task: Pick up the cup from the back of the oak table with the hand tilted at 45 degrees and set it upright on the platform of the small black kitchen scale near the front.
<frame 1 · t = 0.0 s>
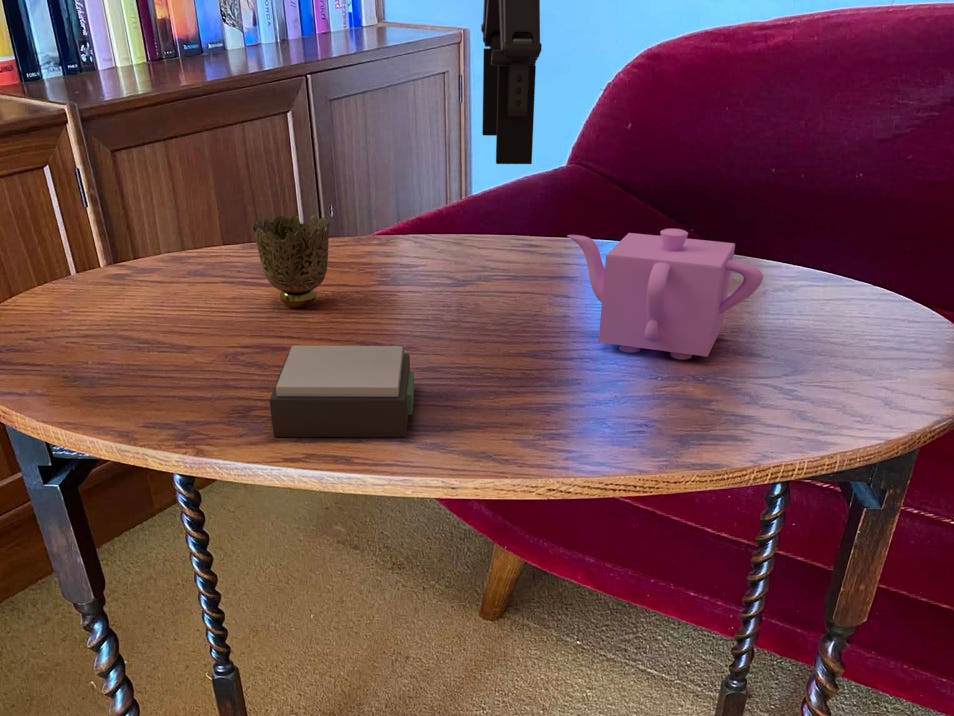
hand: (505, 148, 79), 17 cm above the table, tool pointing down, fingers open, 13 cm apart
teapot: (653, 343, 91), on the table
cup: (298, 306, 99), on the table
scale: (345, 411, 77), on the table
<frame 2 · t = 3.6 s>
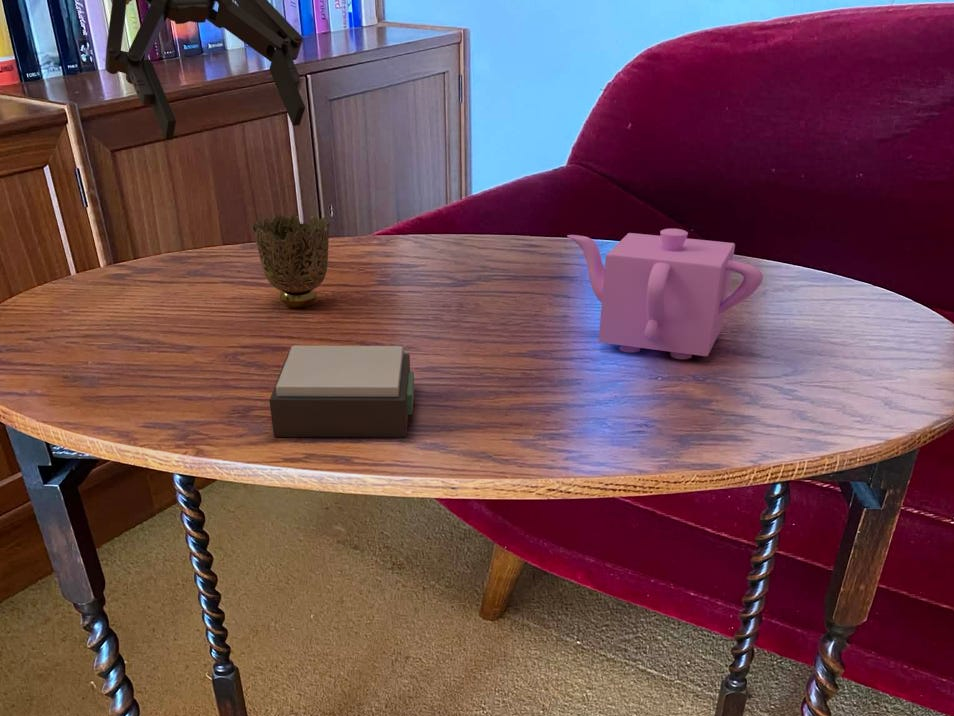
hand: (237, 124, 96), 15 cm above the table, tool tilted 45°, fingers open, 13 cm apart
nothing on the table moved.
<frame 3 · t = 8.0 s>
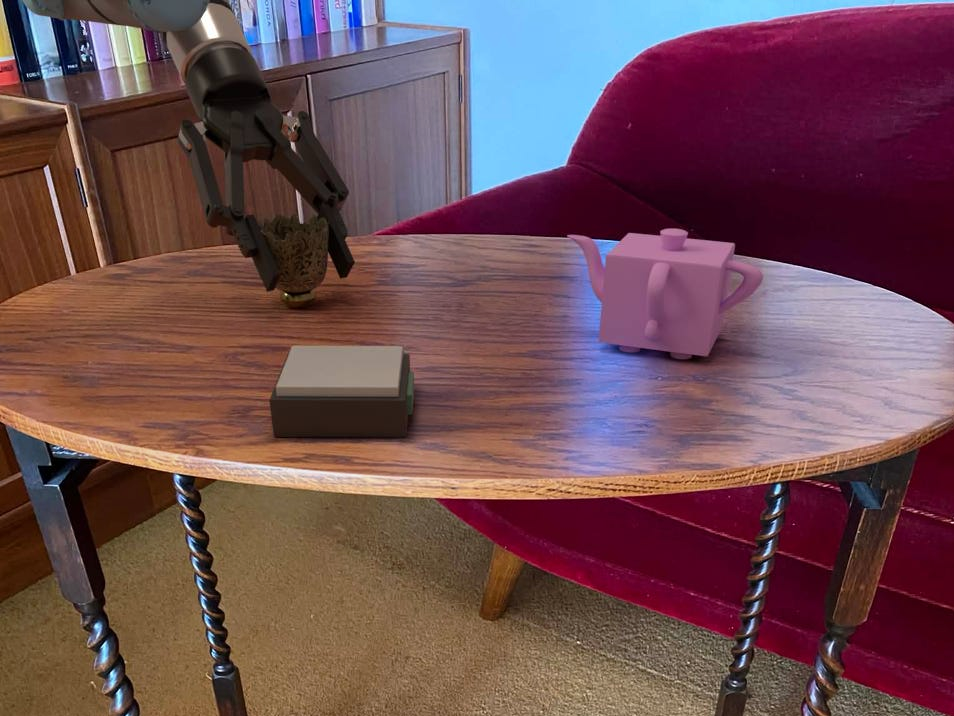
hand: (311, 276, 95), 4 cm above the table, tool tilted 45°, fingers closed on cup, 7 cm apart
cup: (298, 306, 99), on the table, touching gripper
everything else where it was.
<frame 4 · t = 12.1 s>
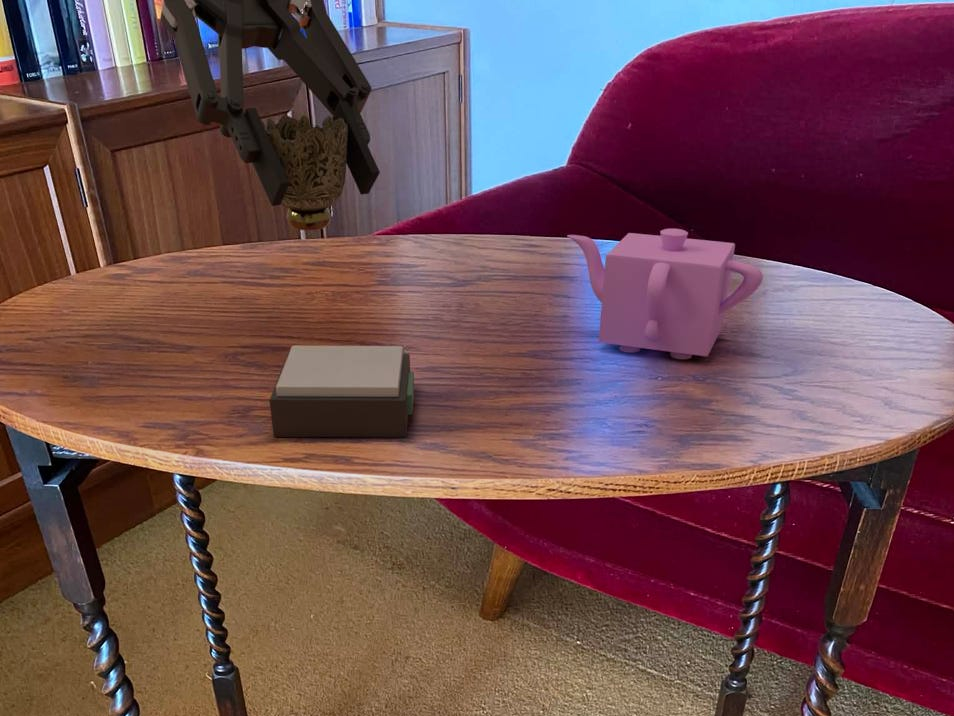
hand: (326, 188, 77), 14 cm above the table, tool tilted 45°, fingers closed on cup, 7 cm apart
cup: (309, 229, 81), point 11 cm above the table, touching gripper
everything else where it was.
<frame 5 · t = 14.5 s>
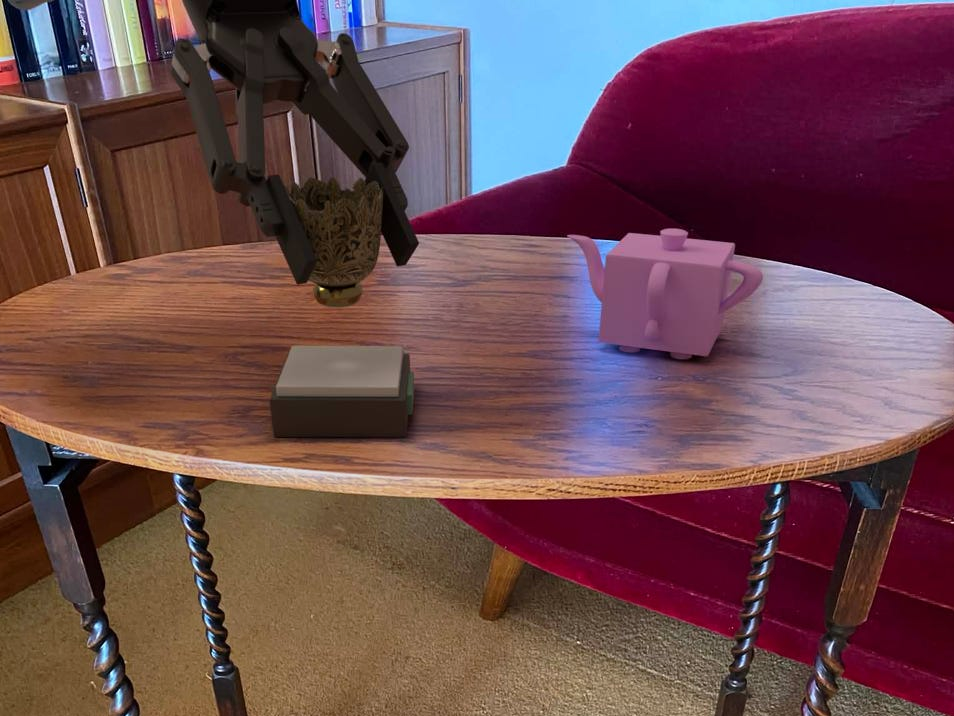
hand: (359, 263, 67), 12 cm above the table, tool tilted 45°, fingers closed on cup, 7 cm apart
cup: (338, 305, 72), point 8 cm above the table, touching gripper
everything else where it was.
when the fingers open (7 cm above the table, at t = 16.2 s): cup stays where it is, resting on scale.
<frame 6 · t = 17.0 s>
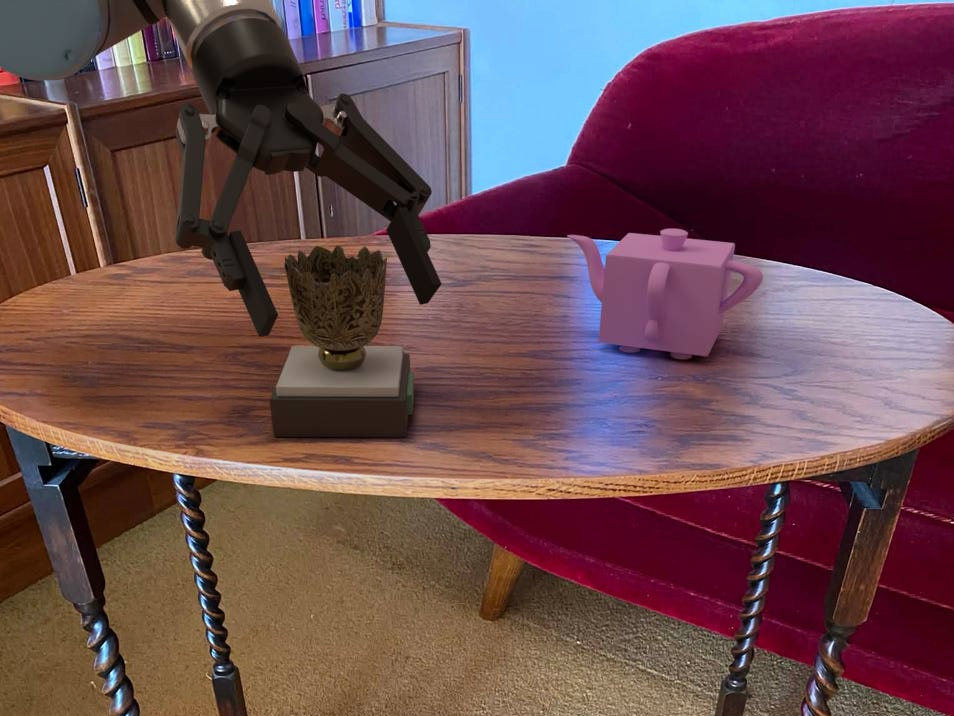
hand: (353, 310, 70), 9 cm above the table, tool tilted 45°, fingers open, 13 cm apart
cup: (342, 367, 75), point 4 cm above the table, touching scale
everything else where it was.
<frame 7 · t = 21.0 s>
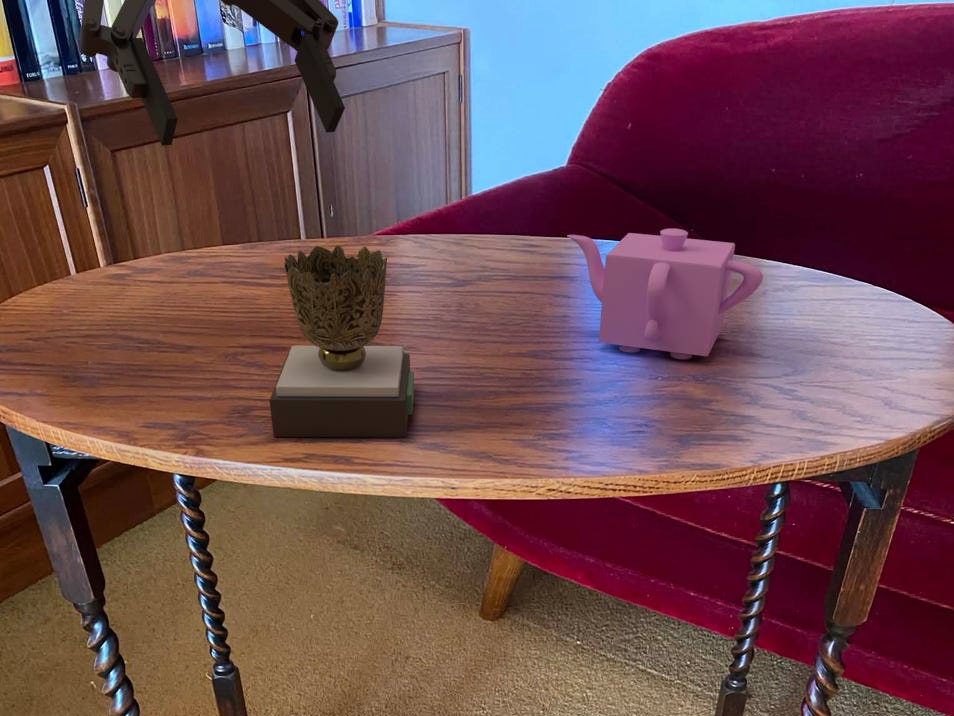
hand: (256, 126, 72), 19 cm above the table, tool tilted 45°, fingers open, 13 cm apart
nothing on the table moved.
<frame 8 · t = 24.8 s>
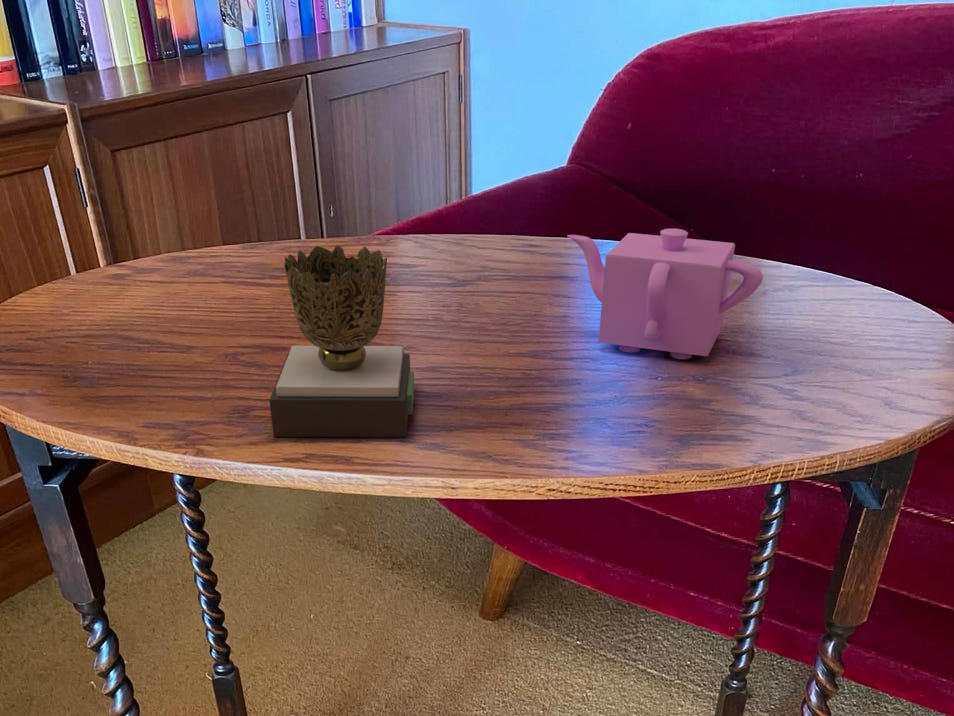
nothing on the table moved.
at the end: cup inside the target area on the scale (0.0 cm from its centre), point 3.6 cm above the scale's base; cup tilted 0°; the gripper is holding nothing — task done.
